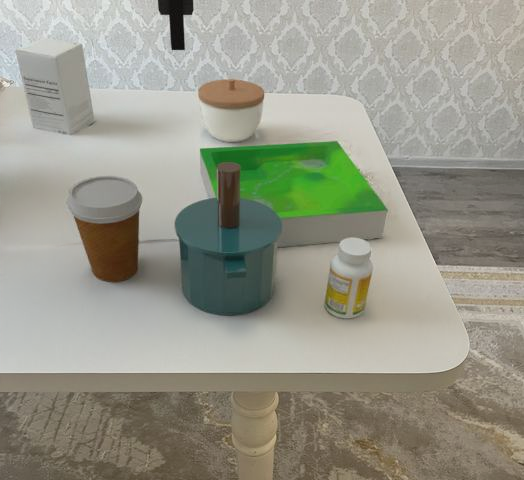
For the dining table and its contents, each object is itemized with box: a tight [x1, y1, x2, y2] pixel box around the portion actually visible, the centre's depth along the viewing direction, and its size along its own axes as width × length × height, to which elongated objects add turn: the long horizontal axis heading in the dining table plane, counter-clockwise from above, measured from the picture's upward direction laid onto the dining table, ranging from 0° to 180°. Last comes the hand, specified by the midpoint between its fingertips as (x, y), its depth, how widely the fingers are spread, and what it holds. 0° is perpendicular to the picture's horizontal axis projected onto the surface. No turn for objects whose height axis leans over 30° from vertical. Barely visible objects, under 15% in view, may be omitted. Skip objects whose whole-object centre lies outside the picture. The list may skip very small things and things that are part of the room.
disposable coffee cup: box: [66, 175, 143, 283], centre depth 79 cm, size 10×10×12 cm
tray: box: [199, 140, 389, 248], centre depth 97 cm, size 25×25×5 cm
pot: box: [178, 238, 279, 317], centre depth 78 cm, size 13×18×10 cm
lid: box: [174, 162, 282, 256], centre depth 72 cm, size 14×14×9 cm
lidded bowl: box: [197, 78, 265, 143], centre depth 115 cm, size 13×13×11 cm
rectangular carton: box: [15, 37, 95, 136], centre depth 114 cm, size 9×9×15 cm
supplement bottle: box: [324, 238, 374, 319], centre depth 76 cm, size 5×5×10 cm
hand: (177, 46), depth 67 cm, fingers closed
